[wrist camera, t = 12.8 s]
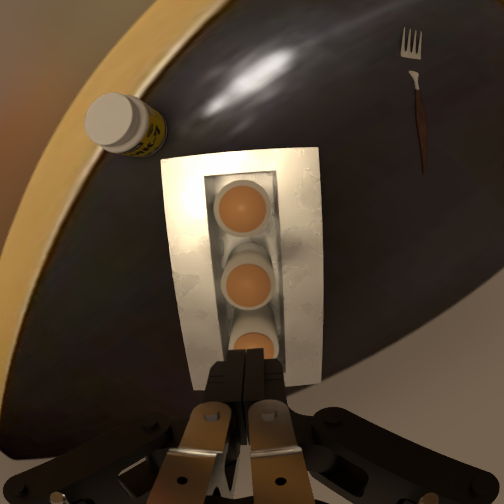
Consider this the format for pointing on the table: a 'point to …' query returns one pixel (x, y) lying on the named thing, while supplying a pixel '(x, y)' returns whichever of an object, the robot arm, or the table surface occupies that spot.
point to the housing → (271, 238)
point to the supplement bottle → (125, 125)
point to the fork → (417, 97)
